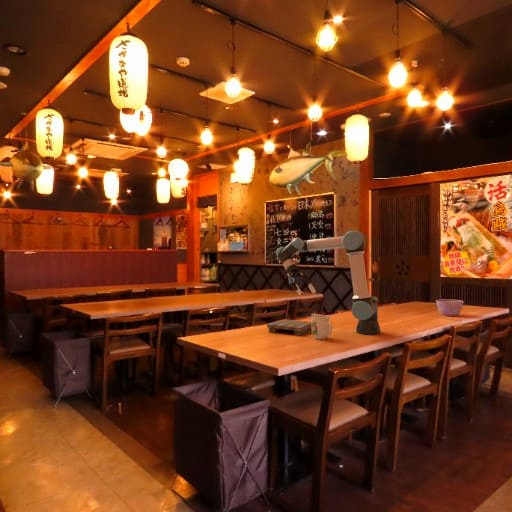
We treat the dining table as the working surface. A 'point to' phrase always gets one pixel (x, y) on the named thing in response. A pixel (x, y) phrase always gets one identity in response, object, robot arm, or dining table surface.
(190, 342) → the dining table surface
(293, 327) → the serving board
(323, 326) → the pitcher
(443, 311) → the purple bowl
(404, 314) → the dining table surface
